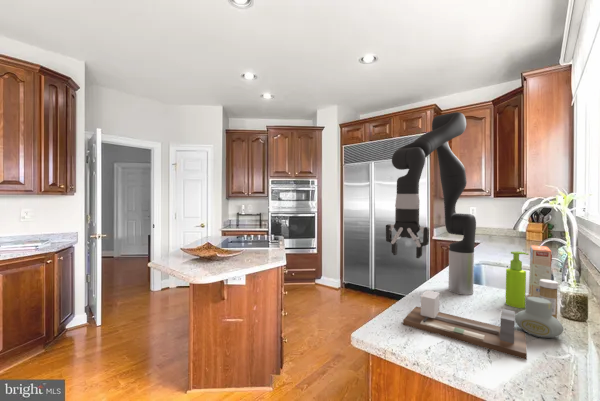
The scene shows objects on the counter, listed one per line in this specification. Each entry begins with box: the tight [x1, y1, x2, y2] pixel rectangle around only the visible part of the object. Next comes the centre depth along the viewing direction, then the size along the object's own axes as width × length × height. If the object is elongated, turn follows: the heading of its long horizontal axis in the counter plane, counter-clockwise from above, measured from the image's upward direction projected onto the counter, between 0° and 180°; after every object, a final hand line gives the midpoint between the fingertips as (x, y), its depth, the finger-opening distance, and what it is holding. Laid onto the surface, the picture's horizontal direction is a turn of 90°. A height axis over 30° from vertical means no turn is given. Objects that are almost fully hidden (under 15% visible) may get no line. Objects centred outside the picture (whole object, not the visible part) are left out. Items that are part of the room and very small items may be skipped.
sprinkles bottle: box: [539, 279, 559, 320], centre depth 91 cm, size 5×5×14 cm
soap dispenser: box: [505, 251, 529, 309], centre depth 105 cm, size 6×7×20 cm
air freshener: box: [515, 296, 564, 339], centre depth 83 cm, size 11×8×10 cm
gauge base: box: [402, 306, 528, 360], centre depth 84 cm, size 14×30×8 cm, turn 52°
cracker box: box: [528, 244, 553, 298], centre depth 110 cm, size 14×6×21 cm, turn 143°
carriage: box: [420, 290, 441, 322], centre depth 88 cm, size 11×4×6 cm, turn 142°
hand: (406, 256), depth 95 cm, fingers open, 7 cm apart
